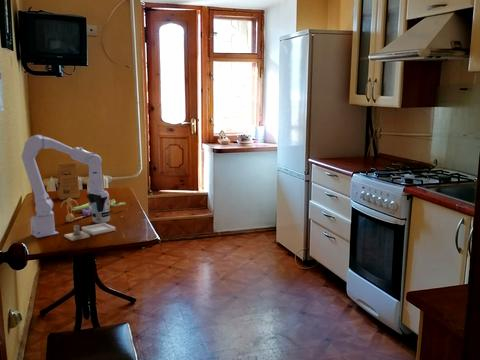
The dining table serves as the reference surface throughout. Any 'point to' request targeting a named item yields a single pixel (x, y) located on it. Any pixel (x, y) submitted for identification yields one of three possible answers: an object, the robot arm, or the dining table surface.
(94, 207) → the pale blue cube
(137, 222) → the dining table surface
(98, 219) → the supplement can
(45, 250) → the dining table surface
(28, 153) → the robot arm
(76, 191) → the coffee package
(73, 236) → the post stand
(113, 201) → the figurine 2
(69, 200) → the figurine
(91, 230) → the tray
